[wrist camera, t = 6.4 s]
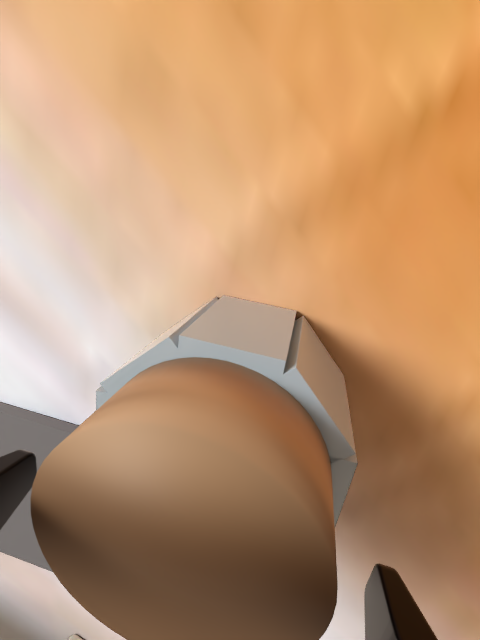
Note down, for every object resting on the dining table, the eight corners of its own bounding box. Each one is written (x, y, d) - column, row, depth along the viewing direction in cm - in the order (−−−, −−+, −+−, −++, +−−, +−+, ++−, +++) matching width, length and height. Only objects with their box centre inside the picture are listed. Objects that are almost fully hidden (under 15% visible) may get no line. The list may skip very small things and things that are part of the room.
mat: (131, 588, 20) (126, 600, 20) (-22, 531, 22) (-31, 539, 21) (141, 444, 16) (134, 452, 16) (-45, 388, 18) (-56, 394, 18)
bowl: (313, 485, 15) (311, 592, 11) (153, 438, 16) (95, 517, 12) (362, 325, 12) (385, 385, 8) (165, 282, 13) (96, 315, 9)
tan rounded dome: (302, 579, 11) (297, 709, 8) (105, 513, 12) (40, 608, 9) (361, 392, 8) (383, 485, 5) (106, 332, 9) (18, 384, 7)
